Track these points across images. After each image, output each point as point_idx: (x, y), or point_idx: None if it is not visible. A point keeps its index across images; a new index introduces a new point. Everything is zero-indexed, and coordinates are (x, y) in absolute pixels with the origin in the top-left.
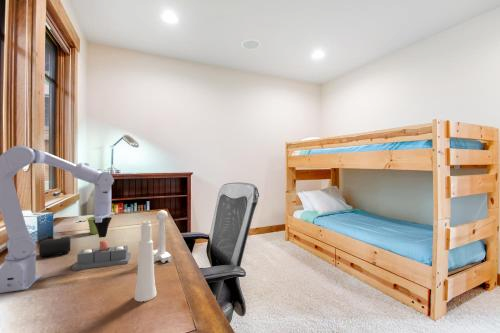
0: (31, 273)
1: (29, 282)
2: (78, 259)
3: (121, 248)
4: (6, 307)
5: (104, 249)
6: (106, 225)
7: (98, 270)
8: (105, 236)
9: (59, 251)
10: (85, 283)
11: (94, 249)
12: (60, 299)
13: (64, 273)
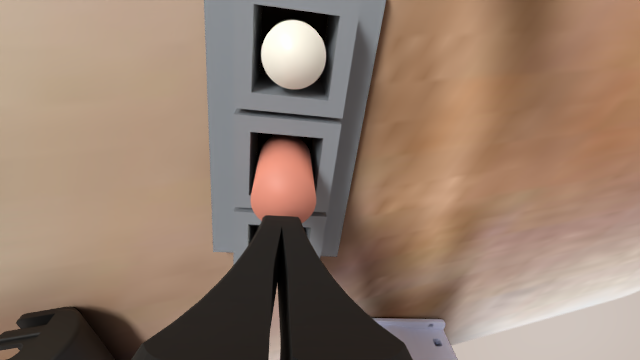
0: (414, 354)
1: (411, 330)
2: None
3: (321, 39)
4: (529, 321)
5: (310, 165)
6: (355, 312)
7: (399, 146)
8: (293, 217)
9: (102, 345)
10: (518, 176)
11: (253, 222)
12: (590, 224)
13: (357, 262)
